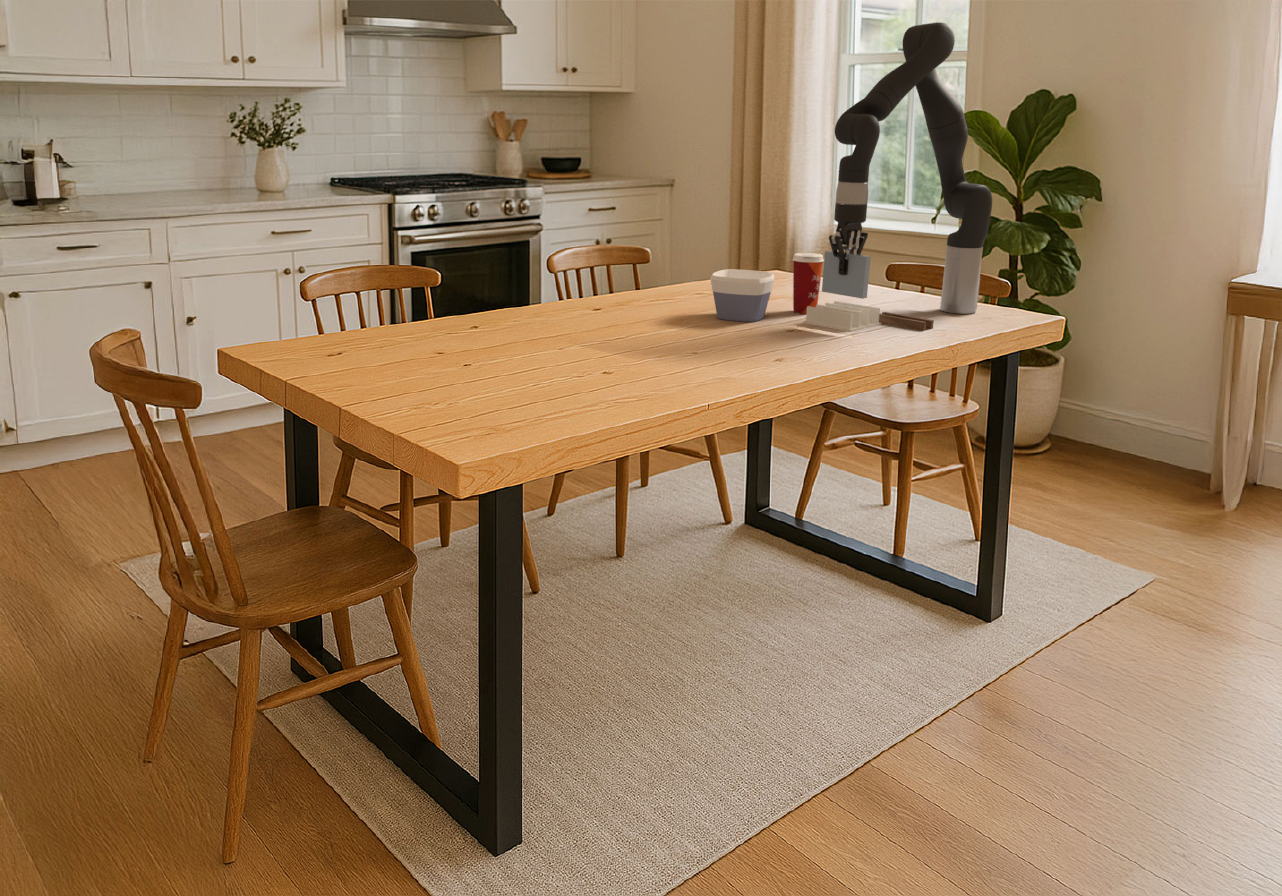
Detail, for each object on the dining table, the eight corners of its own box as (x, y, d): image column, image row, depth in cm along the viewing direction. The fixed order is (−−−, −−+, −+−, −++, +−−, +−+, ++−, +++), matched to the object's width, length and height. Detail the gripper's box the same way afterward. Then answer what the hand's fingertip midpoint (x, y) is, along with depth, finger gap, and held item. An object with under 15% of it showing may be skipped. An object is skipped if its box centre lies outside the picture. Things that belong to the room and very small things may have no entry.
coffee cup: (819, 315, 281) (823, 257, 277) (787, 313, 283) (791, 256, 278) (821, 309, 289) (825, 253, 284) (790, 308, 291) (793, 251, 286)
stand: (883, 322, 274) (884, 311, 273) (933, 331, 264) (934, 320, 263) (872, 325, 270) (873, 314, 269) (922, 334, 261) (923, 322, 260)
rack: (833, 319, 277) (835, 300, 275) (880, 327, 268) (882, 308, 266) (803, 325, 268) (804, 306, 267) (850, 334, 259) (852, 314, 257)
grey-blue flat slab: (826, 290, 270) (829, 250, 267) (866, 297, 262) (870, 256, 259) (821, 291, 269) (824, 251, 266) (862, 298, 261) (866, 256, 258)
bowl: (702, 320, 273) (704, 275, 270) (721, 310, 287) (723, 267, 283) (761, 325, 268) (763, 280, 264) (778, 315, 281) (780, 272, 278)
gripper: (854, 199, 266) (849, 270, 271) (821, 201, 257) (816, 275, 262) (880, 201, 261) (874, 273, 266) (848, 204, 251) (842, 279, 257)
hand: (845, 274), depth 264 cm, fingers closed on grey-blue flat slab, 1 cm apart
